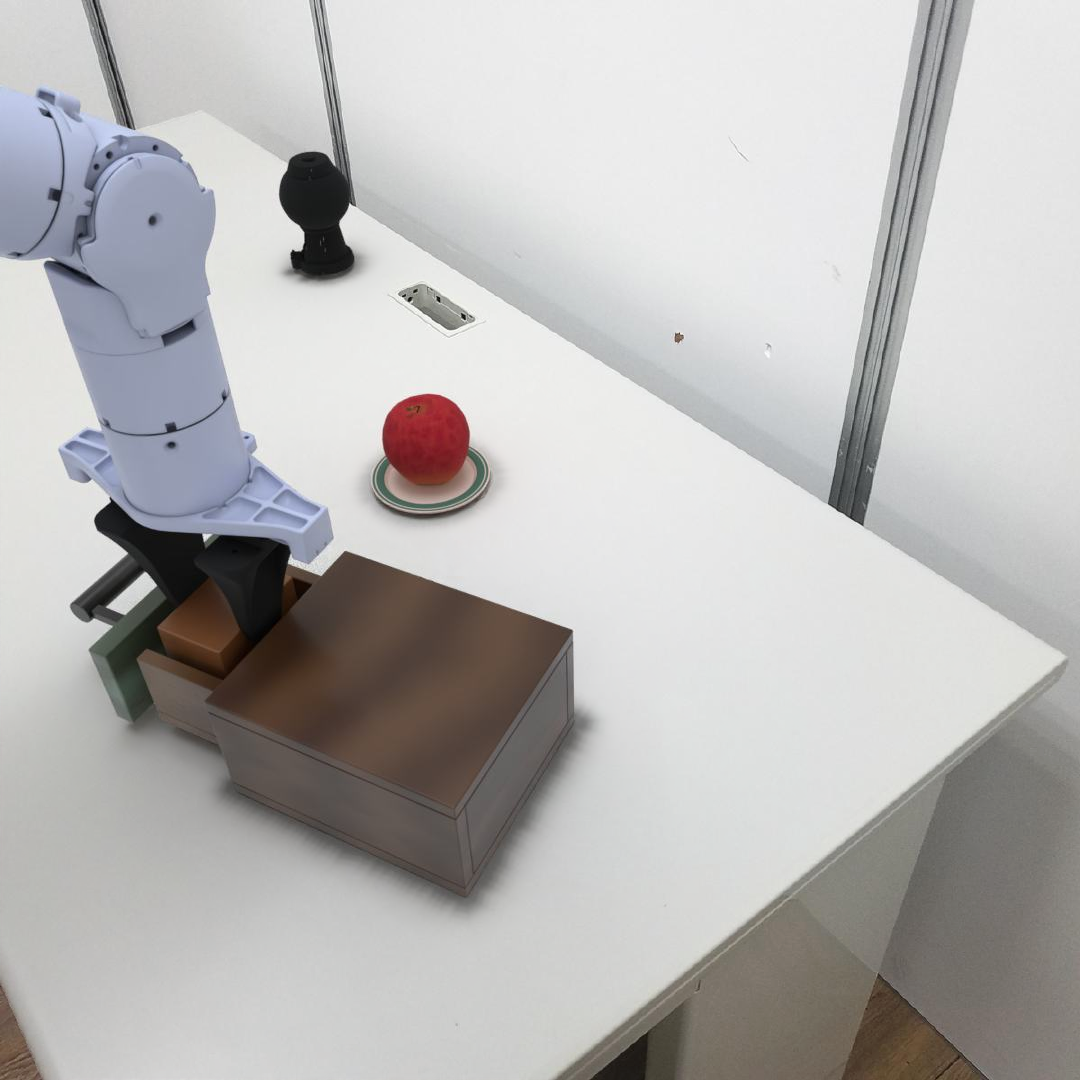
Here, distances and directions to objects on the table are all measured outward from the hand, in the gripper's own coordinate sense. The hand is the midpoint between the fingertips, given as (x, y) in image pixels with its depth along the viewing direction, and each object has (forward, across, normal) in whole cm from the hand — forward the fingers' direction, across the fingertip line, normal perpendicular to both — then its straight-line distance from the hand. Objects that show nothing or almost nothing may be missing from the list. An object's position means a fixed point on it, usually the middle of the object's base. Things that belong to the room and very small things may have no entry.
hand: (230, 615), depth 58 cm
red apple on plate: (+6, +1, -20) cm, 21 cm away
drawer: (+5, +1, 0) cm, 5 cm away
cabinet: (+6, -10, 0) cm, 12 cm away
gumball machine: (+6, +25, -42) cm, 49 cm away
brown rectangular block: (+1, 0, 0) cm, 1 cm away
